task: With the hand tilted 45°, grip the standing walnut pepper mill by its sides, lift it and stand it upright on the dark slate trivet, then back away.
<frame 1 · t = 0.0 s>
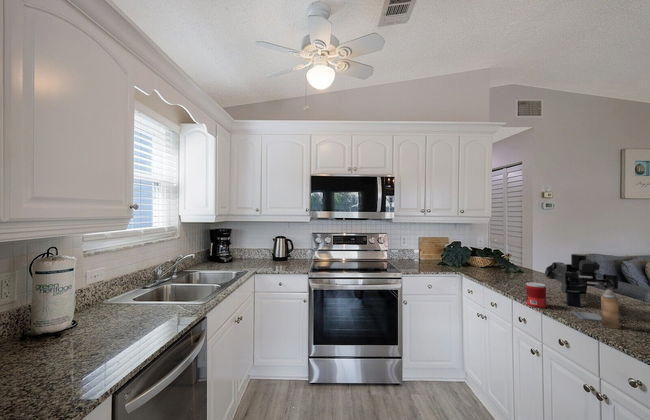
hand: (599, 284, 120), 17 cm above the table, tool horizontal, fingers open, 9 cm apart
pepper mill: (610, 326, 117), on the table
canned food: (536, 306, 143), on the table
trivet: (589, 317, 126), on the table
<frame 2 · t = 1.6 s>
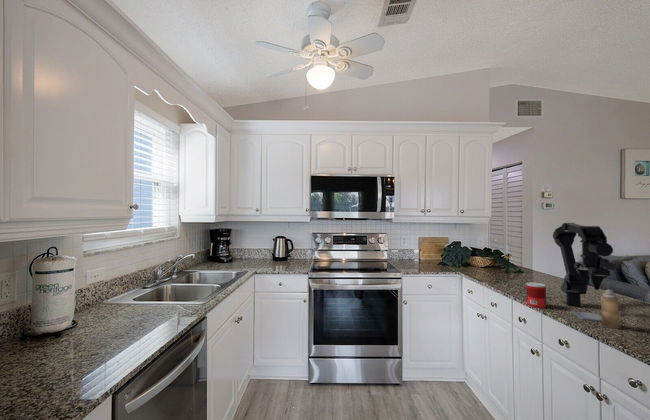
hand: (591, 287, 128), 13 cm above the table, tool pointing down, fingers open, 9 cm apart
nothing on the table moved.
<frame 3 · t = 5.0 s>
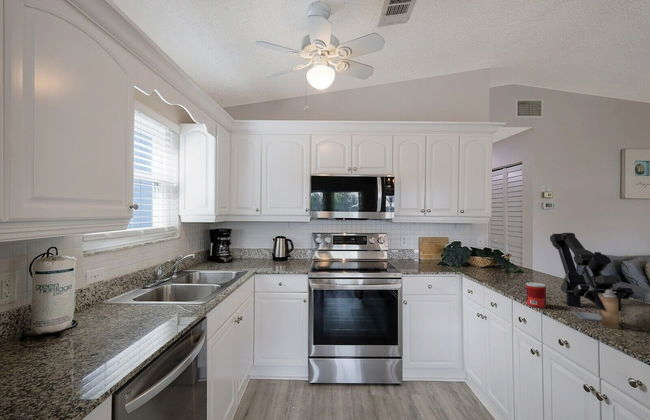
hand: (611, 310, 115), 7 cm above the table, tool tilted 45°, fingers closed on pepper mill, 5 cm apart
pepper mill: (610, 326, 117), on the table, touching gripper
everything else where it was.
when the fingers open (9 cm above the table, at t = 7.9 s): pepper mill stays where it is, resting on trivet.
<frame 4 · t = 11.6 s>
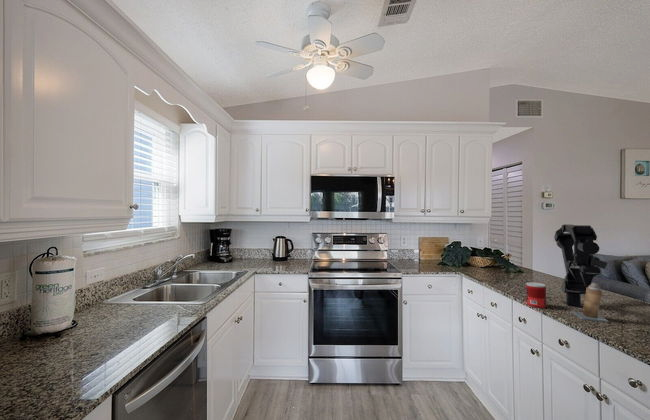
hand: (582, 285, 132), 13 cm above the table, tool pointing down, fingers open, 9 cm apart
pepper mill: (589, 314, 126), point 1 cm above the table, tilted 8°, touching gripper, trivet
everything else where it was.
at the end: pepper mill inside the target area on the trivet (0.1 cm from its centre), point 1.2 cm above the trivet's base; pepper mill tilted 8°; the gripper is holding nothing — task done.
